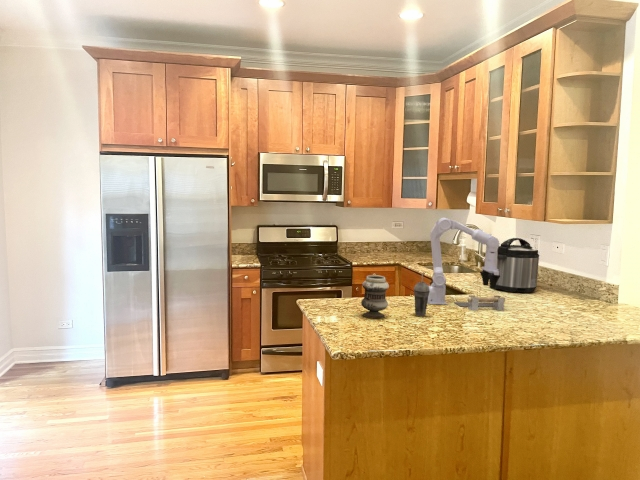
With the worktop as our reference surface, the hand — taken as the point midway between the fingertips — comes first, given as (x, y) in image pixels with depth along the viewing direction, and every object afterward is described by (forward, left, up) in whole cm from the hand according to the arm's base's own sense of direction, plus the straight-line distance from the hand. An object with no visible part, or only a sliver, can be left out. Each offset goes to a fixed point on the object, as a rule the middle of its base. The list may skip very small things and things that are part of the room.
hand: (488, 286), depth 236 cm
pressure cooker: (+36, +46, -10) cm, 60 cm away
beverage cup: (-41, -20, -10) cm, 47 cm away
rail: (-4, -7, -5) cm, 9 cm away
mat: (-4, +2, -10) cm, 11 cm away
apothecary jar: (-63, -22, -10) cm, 67 cm away
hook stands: (-4, -7, -10) cm, 13 cm away
